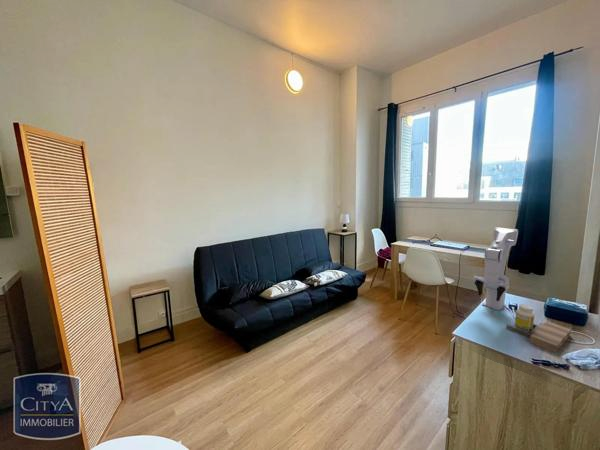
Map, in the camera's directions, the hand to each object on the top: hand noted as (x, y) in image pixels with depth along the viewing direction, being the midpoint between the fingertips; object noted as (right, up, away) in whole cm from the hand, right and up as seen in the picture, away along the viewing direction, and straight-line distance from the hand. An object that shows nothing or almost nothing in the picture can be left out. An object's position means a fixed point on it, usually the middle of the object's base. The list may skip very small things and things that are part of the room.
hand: (488, 297), depth 125 cm
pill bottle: (+7, -11, -11) cm, 18 cm away
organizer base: (+10, -12, -15) cm, 21 cm away
